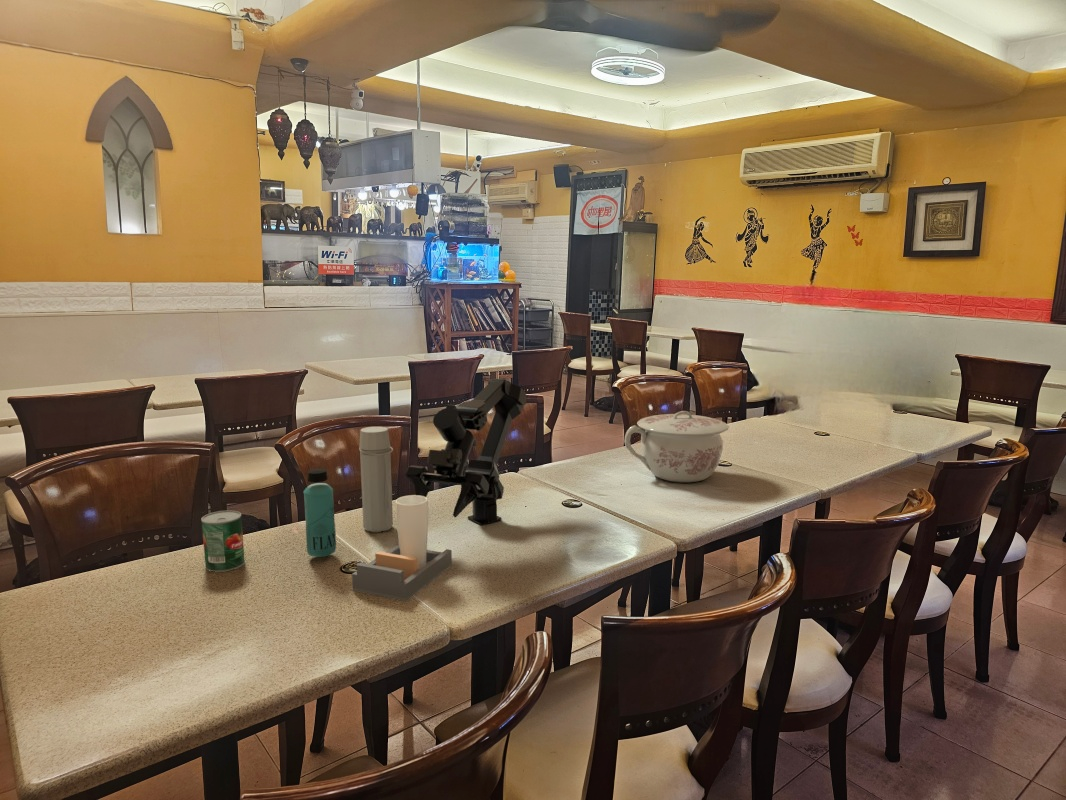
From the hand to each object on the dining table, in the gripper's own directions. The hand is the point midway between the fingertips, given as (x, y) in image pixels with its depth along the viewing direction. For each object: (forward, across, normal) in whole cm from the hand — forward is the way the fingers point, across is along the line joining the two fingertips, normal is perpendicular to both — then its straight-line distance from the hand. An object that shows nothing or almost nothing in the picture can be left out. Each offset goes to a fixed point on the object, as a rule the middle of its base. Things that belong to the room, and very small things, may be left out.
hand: (435, 513), depth 156 cm
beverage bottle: (+14, -24, +1) cm, 27 cm away
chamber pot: (-50, +41, +66) cm, 92 cm away
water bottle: (0, -21, +15) cm, 26 cm away
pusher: (+17, -1, -4) cm, 17 cm away
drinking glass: (+12, -1, +1) cm, 13 cm away
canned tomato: (+21, -41, -7) cm, 46 cm away
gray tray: (+15, -1, -1) cm, 15 cm away
